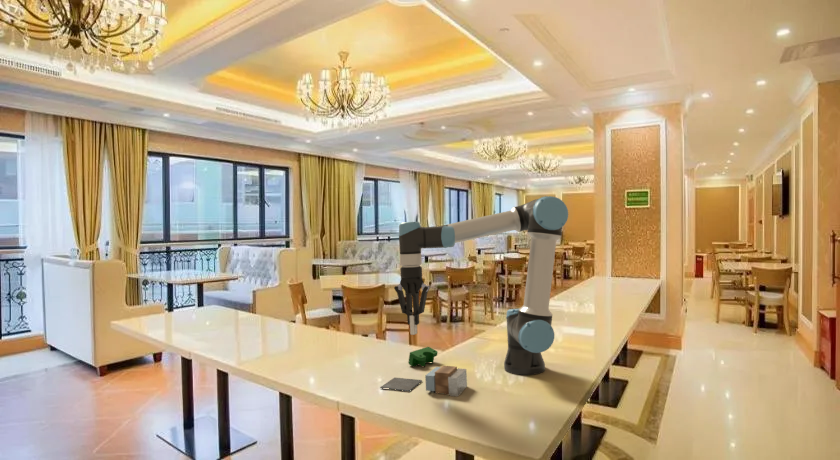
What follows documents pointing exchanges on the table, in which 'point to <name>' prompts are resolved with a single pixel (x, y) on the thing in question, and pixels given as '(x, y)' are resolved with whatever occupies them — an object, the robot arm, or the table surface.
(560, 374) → the table surface
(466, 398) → the table surface
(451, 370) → the block
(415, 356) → the clamp
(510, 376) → the table surface
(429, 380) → the blue-gray rectangular block
